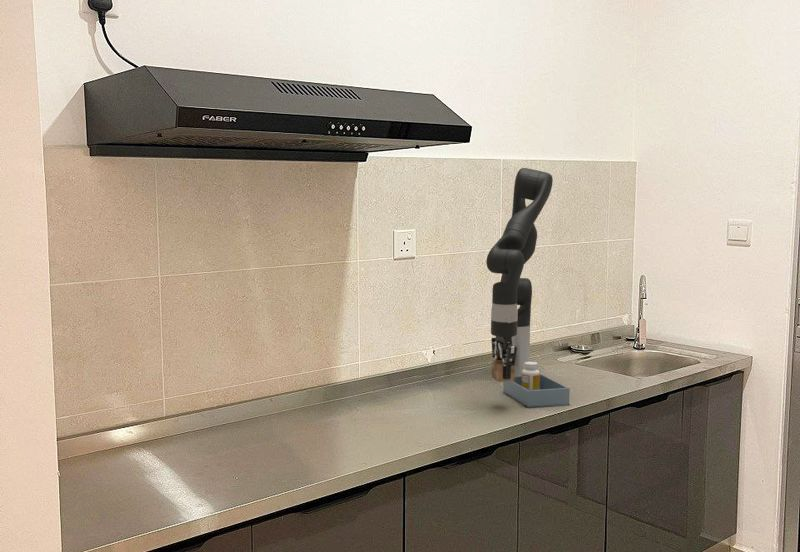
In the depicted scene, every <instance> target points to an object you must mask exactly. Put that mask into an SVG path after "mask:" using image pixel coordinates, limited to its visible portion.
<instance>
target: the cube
mask: <svg viewBox="0 0 800 552" xmlns="http://www.w3.org/2000/svg"><path fill="white" fill-rule="evenodd" d="M514 374H515V365H514V366H511V378H510V379H503V361H502V360H495V359H494V360H491V378H492V379H493V380H495V381H496V382H497V383H499V382H504V381H514Z"/></svg>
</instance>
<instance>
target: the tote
mask: <svg viewBox="0 0 800 552" xmlns="http://www.w3.org/2000/svg"><path fill="white" fill-rule="evenodd" d="M502 387H503V388H502V389H503V394H505V395H507V396H508V397H509V398H510V399H513V400H515V401H516V402H517V403H519V404H521V406H523V407H526V408H527V409H533V408H547V407H558V406H559V407H560V406H561V407H562V406H570V392H571V390H570V388H569V387H568V386H566V385H564V384H562V383H561V382H558V381H557V380H554V379H552V378H551V377H548V376H546V375H545V374H540V383H539V390H530V391H529V390H527V389H526V388H524V387H522V376H514V381H503V386H502Z"/></svg>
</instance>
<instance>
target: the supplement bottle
mask: <svg viewBox="0 0 800 552" xmlns="http://www.w3.org/2000/svg"><path fill="white" fill-rule="evenodd" d="M524 367H525V369H523V370H522V387H524V388H526V389H527V390H529V391H530V390H539V383H540V375H541V374H540V373H541V372H540V370H539V369H538V367H539V365H538V362H536V361H529V362H525V363H524Z"/></svg>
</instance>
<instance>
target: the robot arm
mask: <svg viewBox="0 0 800 552" xmlns="http://www.w3.org/2000/svg"><path fill="white" fill-rule="evenodd" d="M552 187H553V176H552V174H551V173H549V172H547V171H546V172H545V171H542V170H538V169H533V168H529V167H521V168H520V169H519V170H518V171H517V173H516V176H515V180H514V185H513V195H512V196H513V197H512V198H513V199H512V210H511V211H512V212H511V218H509V220H508V221H507V223H506V225H505V228H504V230H503V233H502V236H501V237H500V238H499V239H498V240H497V242H496V243H494V245H493V246H492V247H491V249H490V250H489V251H488V253H487V257H486V261H485V262H486V267H487V269H488V271H490V272H491V273H492V274H499V275H500V274H501V277H500V281H497V282H495V283H493V286H492V290H491V291H492V292H491V293H492V298H491V299H492V302H491V309H490V310H491V311H490V313H491V314H490V334H491V335H492V336H494V337H491V339H490V340H491V353H492V359H494V360H502V361H503V379H510V378H511V366H514V365H515V374H514V376H522V370H523V369H525V367H524V363H525V362H531V361H530V360H531V359H530V355H531V352H530V351H531V348H530V347H531V345H530V344H531V317H532V316H531V315H532V314H531V313H532V312H531V311H532V298H533V286H532V282H531V280H530V279H529V278H528V277H521V275H522V273H523V271H524V267H525V265H526V263H527V262H528V261H529V260H530V259H531V258H532V256H533V255H534V253H535V251H536V246H537V239H538V230H537V228H536V225H535V223H536V221H537V219H538V217H539V215H540V214H541V212H542V210H543V208H544V206H545V205H546V203H547V201H548V198H549V197H550V194H551V191H552ZM526 200H529V201H532V202H530V203H529V204H528V205H526ZM518 306H519V307H518Z"/></svg>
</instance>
